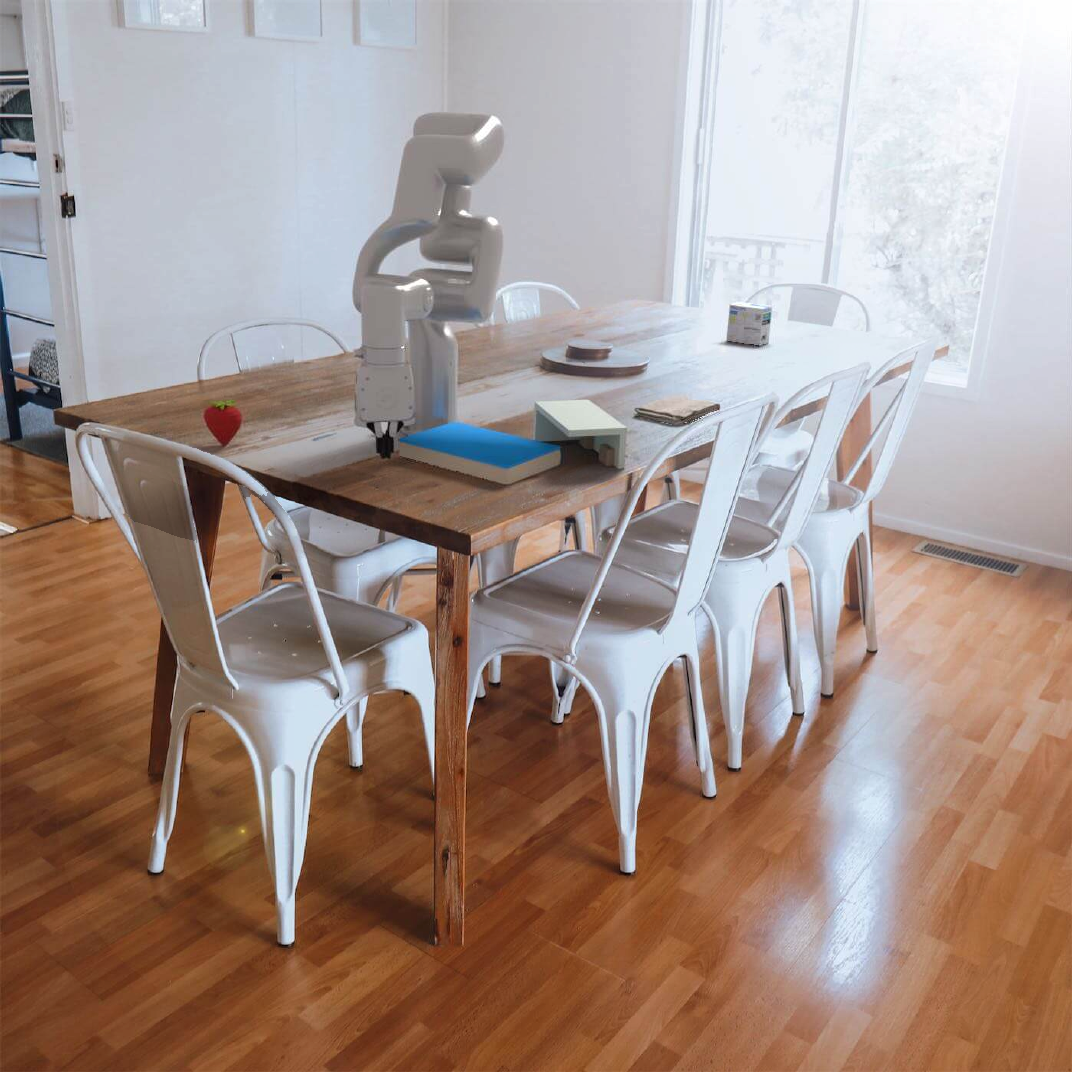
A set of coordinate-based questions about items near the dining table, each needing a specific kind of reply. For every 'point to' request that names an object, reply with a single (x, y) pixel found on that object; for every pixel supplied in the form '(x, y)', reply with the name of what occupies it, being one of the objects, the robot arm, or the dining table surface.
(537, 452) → the book
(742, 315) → the light bulb box
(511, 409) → the dining table surface
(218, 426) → the strawberry
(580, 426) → the shelf
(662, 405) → the washcloth
